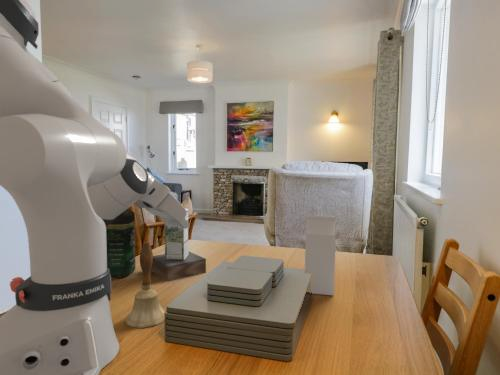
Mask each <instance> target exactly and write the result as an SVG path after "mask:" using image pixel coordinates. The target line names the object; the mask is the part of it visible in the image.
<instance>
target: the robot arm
mask: <svg viewBox="0 0 500 375" xmlns="http://www.w3.org/2000/svg"><path fill="white" fill-rule="evenodd" d="M39 28H40V27H39V22H38V21H37V18H36V16H35V12H34V11H33V9H32V7H31V6H30V3H29V2H27V0H0V186H1V187H2V188H3V189H4V190H5V191H6V192H8V193H9V195H10V196H11V197H12V199H13V200H14V202H15V204H16V206H17V207H18V210H19V211H20V214H21V216H22V219H23V221H24V225H25V228H26V229H25V230H26V233H27V242H28V252H29V253H28V254H29V265H30V266H29V267H30V268H29V269H30V270H29V271H30V276H29V277H28V278H26V279H23V277H21V276H17V277H14V278H12V279H11V280H10V281H9V282H10V283H9V286H10V290H11V292H14V294H15V296H14V297H15V305H13V306H12V307H11V308H10V309H9V310H7V312H5V313H4V314H2V315H1V316H0V375H99V374H100V372H101V371H102V369H103V368H105V367H106V366H107V365H108V364H110V363H111V362H112V361H113V360H114V359H115V358H116V357H117V355H118V353H119V351H120V343H119V341H118V338H117V334H116V331H115V328H114V323H113V319H112V312H111V305H110V301H112V300H111V297H112V296H111V295H112V278H111V275H110V269H109V268H107V241H106V227H107V226H108V225H109V224H110V223H111V222H112V221H113V220H115V219H116V217H117V216H119V215H120V214H121V213H122V212H124V211H125V210H126V209H130V207H132V205H135V207H137V208H138V209H141V210H142V209H145V210H146V211H147V212H148V213H150V214H151V215H154V216H156V217H160V218H162V219H163V220H164V221H165V218H166V219H169V220H172V221H175V222H178V223H179V224H180V226H182V227H183V228H185V229H187V228H188V229H189V226H190V223H189V221H188V222H187V221H186V219H185V217H186V215H187V211H186V209H185V208H186V207H184V206H183V205H182V203H181V202H180V201H179V199H177V198H176V197H175V196H174V195H173V194H172V193H171V189H170V188H169V187H168V186H167V185H166V184H164V183H162V182H160V181H159V180H158V179H157V178H156V177H154V175H152V174H151V173H150V172H148V170H146V169H145V168H144V167H143V165H142V164H141V163H140V161H138V159H136V157H135V156H133V155H132V154H131V153H130V152H129V151H127V149H126V146H125V143H124V142H123V140H122V138H120V137H119V136H118V134H116V133H115V132H114V131H112V130H110V129H109V128H107V127H106V126H105V125H103V124H102V123H101V122H100V121H99V120H98V119H96V118H95V117H94V116H93V115H91V113H90V112H88V111H87V110H86V109H85V108H84V107H83V106H82V105H81V104H79V103H78V102H77V101H76V100H75V98H74V96H73V95H72V93H71V92H70V91H69V90H68V88H67V87H66V86H65V85H64V84H63V83H62V82H61V80H59V78H57V76H56V75H55V74H54V73H53V72H52V71H51V70H50V69H49V68H48V67H47V66H46V65H44V64H43V62H41V61H40V60H39V59H38V58H37V57H36V56H35V55H33V54H32V53H31V52H30V50H28V47H27V46H28V44H29V43H30V45H32V46H33V48H34V49H35V50H37V49H38V44H37V43H36V41H37V39H38V36H39Z"/></svg>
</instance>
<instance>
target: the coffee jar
mask: <svg viewBox="0 0 500 375" xmlns="http://www.w3.org/2000/svg"><path fill="white" fill-rule="evenodd" d="M135 226H136V213H135V212H134V211H133V210H131V208H128V209H126V210H125V211H124V212H122V213H121V214H120V215H119V216H117V217H116V219H115V220H113V221H112V222H111V223H110V224H109V225H108V226H107V227H106V241H107V268H109V269H110V275H111V279H112V278H113V279H119V278H122V277H128V276H130V275H131V274H132V273H134V271H135V270H136V267H137V266H136V244H135V243H136V241H135V240H136V239H135V238H136V237H135V235H136V234H135V232H136V227H135Z"/></svg>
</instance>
